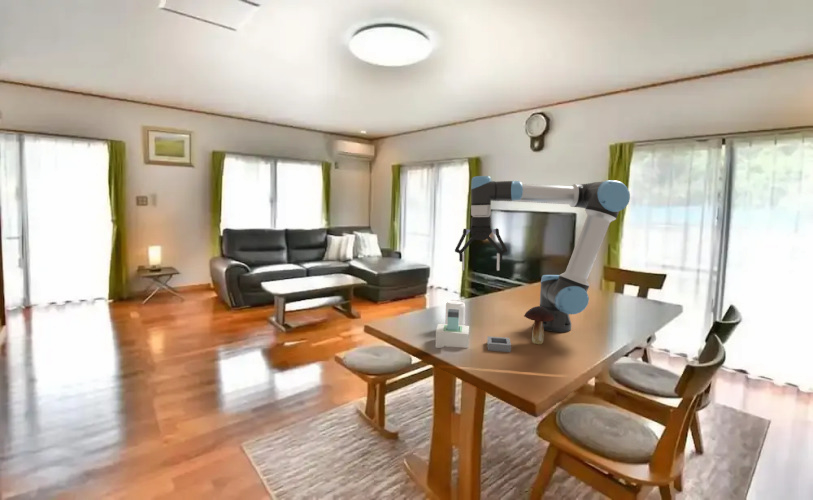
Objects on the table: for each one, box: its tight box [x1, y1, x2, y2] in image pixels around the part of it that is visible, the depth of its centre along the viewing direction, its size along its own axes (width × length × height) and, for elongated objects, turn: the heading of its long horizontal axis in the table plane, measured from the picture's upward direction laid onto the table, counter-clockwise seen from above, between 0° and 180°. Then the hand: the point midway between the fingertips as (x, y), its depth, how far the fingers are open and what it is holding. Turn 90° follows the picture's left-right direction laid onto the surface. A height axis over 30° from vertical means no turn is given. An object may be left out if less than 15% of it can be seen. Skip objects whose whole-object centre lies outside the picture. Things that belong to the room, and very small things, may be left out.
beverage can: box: [444, 299, 466, 326], centre depth 169 cm, size 8×8×12 cm
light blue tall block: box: [447, 309, 459, 331], centre depth 151 cm, size 4×4×12 cm
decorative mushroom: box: [523, 305, 554, 345], centre depth 151 cm, size 11×11×15 cm
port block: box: [435, 323, 470, 349], centre depth 151 cm, size 12×10×6 cm
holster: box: [486, 335, 512, 353], centre depth 147 cm, size 8×8×3 cm
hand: (480, 270), depth 159 cm, fingers open, 13 cm apart
